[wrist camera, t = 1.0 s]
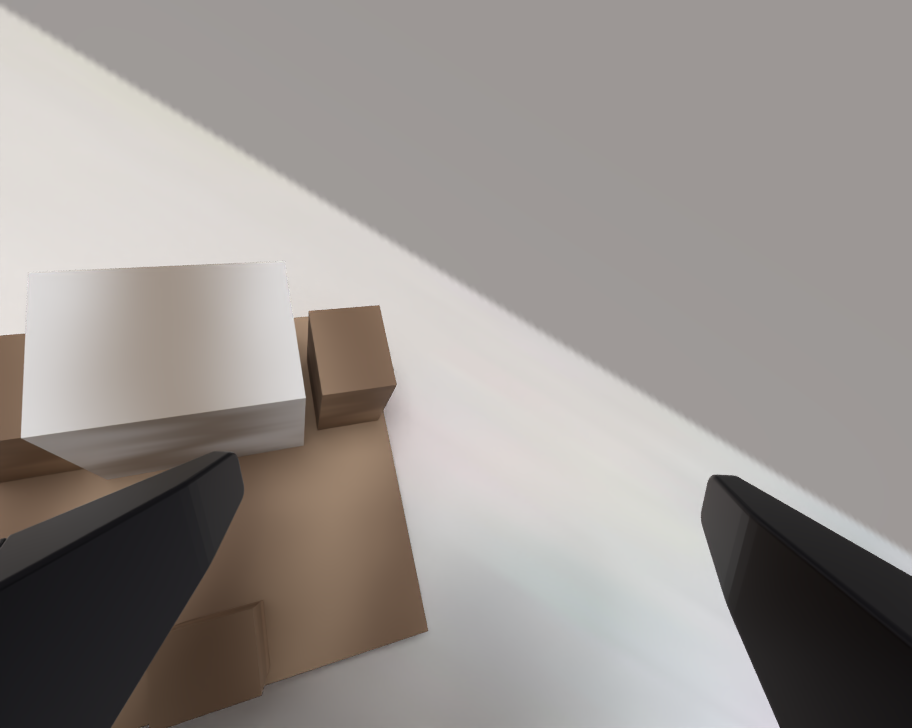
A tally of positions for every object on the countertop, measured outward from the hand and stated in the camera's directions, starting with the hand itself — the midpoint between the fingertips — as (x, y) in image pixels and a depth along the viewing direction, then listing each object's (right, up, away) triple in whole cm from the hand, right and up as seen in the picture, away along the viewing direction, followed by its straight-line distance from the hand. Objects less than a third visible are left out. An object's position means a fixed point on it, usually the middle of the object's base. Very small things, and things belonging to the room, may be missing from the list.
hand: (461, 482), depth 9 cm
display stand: (-9, -3, +9) cm, 13 cm away
